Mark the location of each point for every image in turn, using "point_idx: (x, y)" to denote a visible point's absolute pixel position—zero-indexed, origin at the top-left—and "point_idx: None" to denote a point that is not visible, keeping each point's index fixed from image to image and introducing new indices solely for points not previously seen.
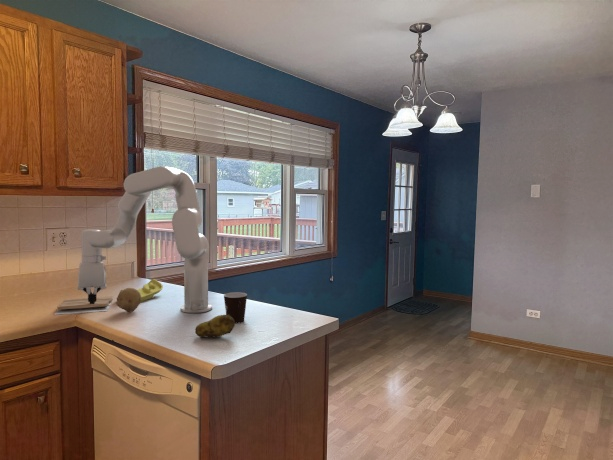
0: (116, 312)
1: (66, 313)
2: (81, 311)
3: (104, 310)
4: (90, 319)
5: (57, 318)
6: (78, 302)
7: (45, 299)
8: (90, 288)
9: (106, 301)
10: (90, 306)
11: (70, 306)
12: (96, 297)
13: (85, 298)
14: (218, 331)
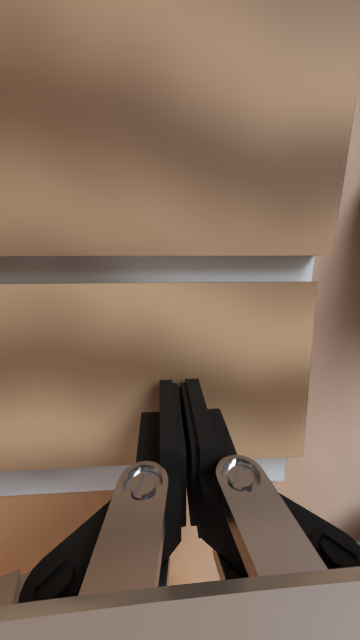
0: (332, 513)
1: (23, 494)
2: (115, 467)
3: (266, 474)
4: None
5: (8, 565)
6: (11, 252)
7: None
8: (159, 556)
9: (295, 314)
10: None
11: (7, 467)
12: (226, 429)
13: (26, 9)
14: None
